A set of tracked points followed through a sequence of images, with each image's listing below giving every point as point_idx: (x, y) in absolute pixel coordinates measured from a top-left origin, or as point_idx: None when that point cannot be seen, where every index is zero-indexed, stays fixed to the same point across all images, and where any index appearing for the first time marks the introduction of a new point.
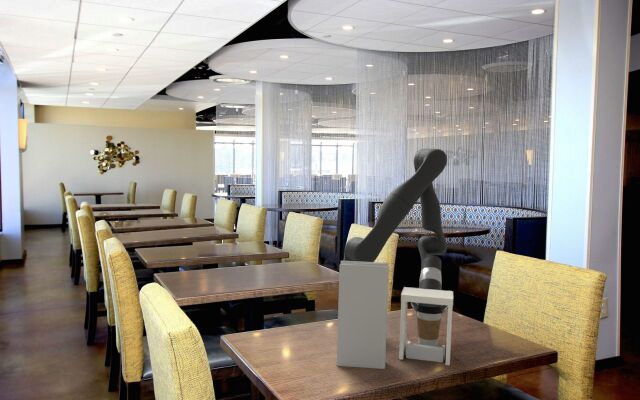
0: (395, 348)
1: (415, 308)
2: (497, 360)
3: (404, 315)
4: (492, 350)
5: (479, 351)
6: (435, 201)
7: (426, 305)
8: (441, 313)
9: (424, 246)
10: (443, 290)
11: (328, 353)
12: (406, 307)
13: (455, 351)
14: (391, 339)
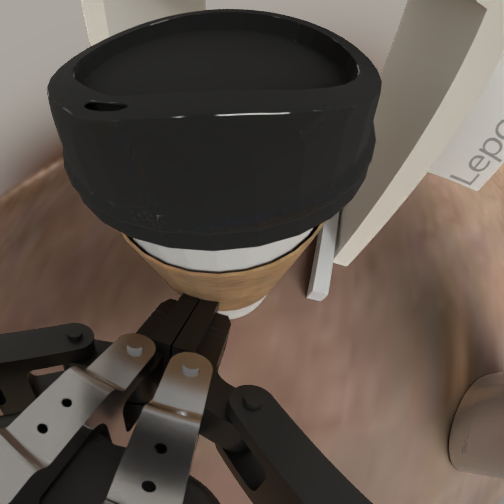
0: (371, 262)
1: (318, 465)
2: (42, 176)
3: (397, 31)
4: (3, 252)
5: (38, 241)
6: None
7: (258, 63)
8: (32, 376)
9: None
10: None
11: (499, 221)
12: (425, 48)
13: (114, 237)
14: (384, 377)
